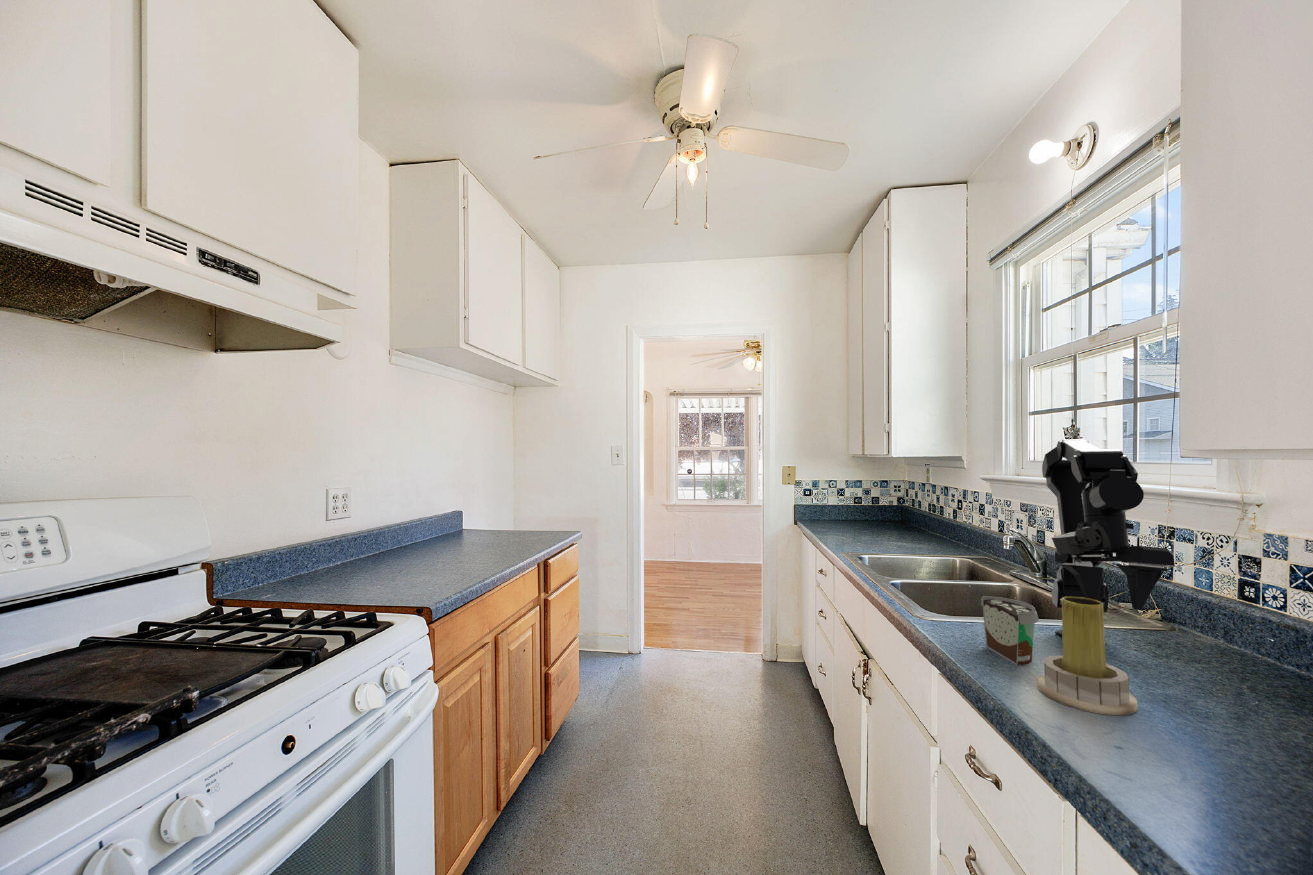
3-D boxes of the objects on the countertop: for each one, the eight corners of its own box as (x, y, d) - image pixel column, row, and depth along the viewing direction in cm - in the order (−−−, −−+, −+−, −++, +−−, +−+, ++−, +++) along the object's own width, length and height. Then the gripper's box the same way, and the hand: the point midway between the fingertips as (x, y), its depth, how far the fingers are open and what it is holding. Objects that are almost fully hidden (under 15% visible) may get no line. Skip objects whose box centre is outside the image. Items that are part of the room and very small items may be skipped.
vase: (1113, 690, 84) (1110, 600, 84) (1105, 702, 80) (1101, 608, 80) (1066, 678, 88) (1063, 593, 89) (1056, 688, 85) (1053, 600, 85)
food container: (1056, 668, 95) (1054, 613, 95) (1022, 668, 95) (1020, 613, 95) (1012, 644, 107) (1010, 595, 108) (981, 644, 107) (980, 595, 108)
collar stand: (1062, 674, 92) (1061, 648, 92) (1153, 704, 81) (1152, 674, 81) (1021, 688, 87) (1020, 661, 87) (1112, 722, 76) (1111, 691, 76)
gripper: (1024, 517, 103) (1029, 599, 100) (1101, 507, 85) (1111, 607, 81) (1081, 522, 103) (1089, 605, 99) (1171, 514, 85) (1184, 614, 81)
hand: (1114, 607), depth 90 cm, fingers open, 9 cm apart
